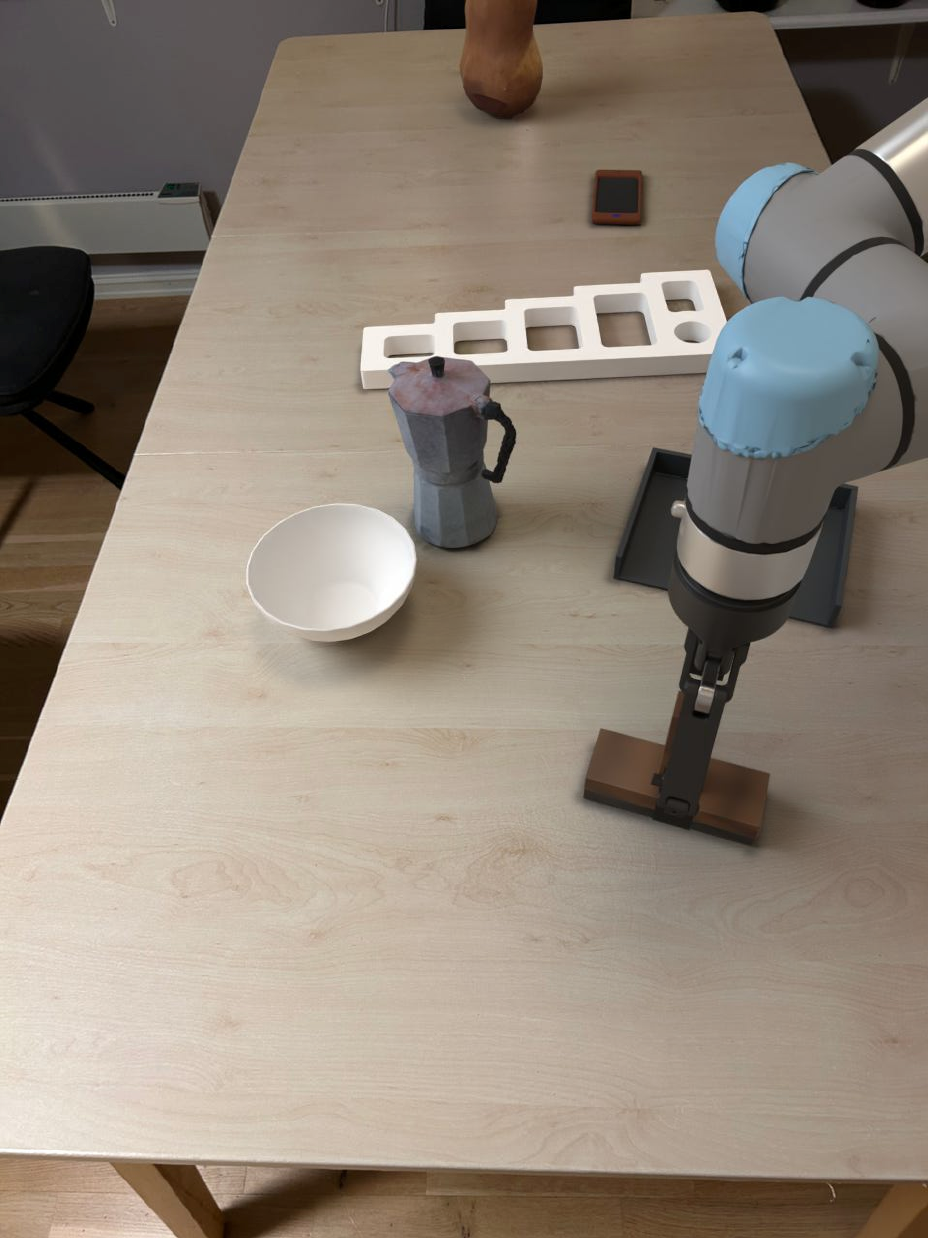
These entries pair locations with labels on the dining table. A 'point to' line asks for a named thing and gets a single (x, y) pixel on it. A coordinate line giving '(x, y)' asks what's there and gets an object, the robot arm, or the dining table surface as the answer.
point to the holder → (574, 310)
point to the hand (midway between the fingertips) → (690, 743)
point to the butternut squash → (501, 56)
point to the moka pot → (450, 447)
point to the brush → (631, 763)
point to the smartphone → (617, 197)
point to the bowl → (332, 571)
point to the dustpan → (657, 529)
